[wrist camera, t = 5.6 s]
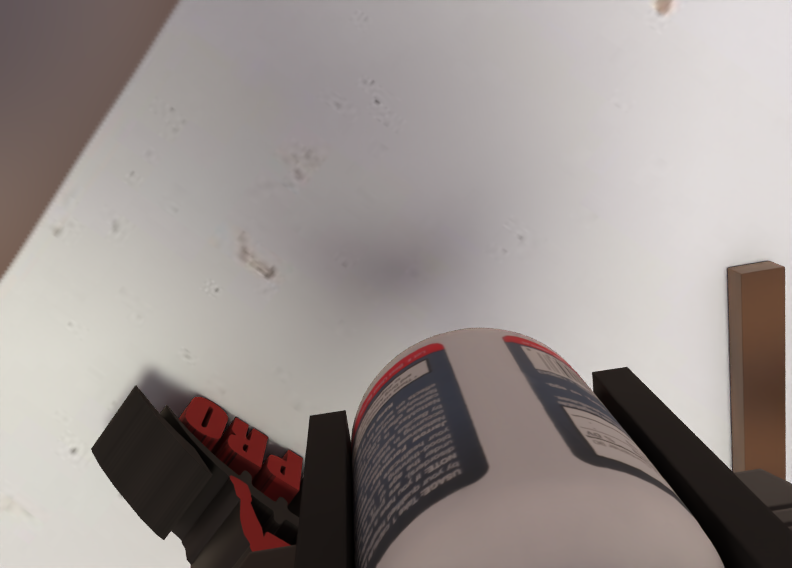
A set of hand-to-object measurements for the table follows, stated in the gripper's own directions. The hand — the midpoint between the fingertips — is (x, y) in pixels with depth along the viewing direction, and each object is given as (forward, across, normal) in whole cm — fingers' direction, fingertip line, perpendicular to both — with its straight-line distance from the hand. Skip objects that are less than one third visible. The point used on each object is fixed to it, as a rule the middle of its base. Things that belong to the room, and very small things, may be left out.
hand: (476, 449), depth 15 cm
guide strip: (+17, +16, -14) cm, 27 cm away
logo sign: (+17, -7, -10) cm, 21 cm away
